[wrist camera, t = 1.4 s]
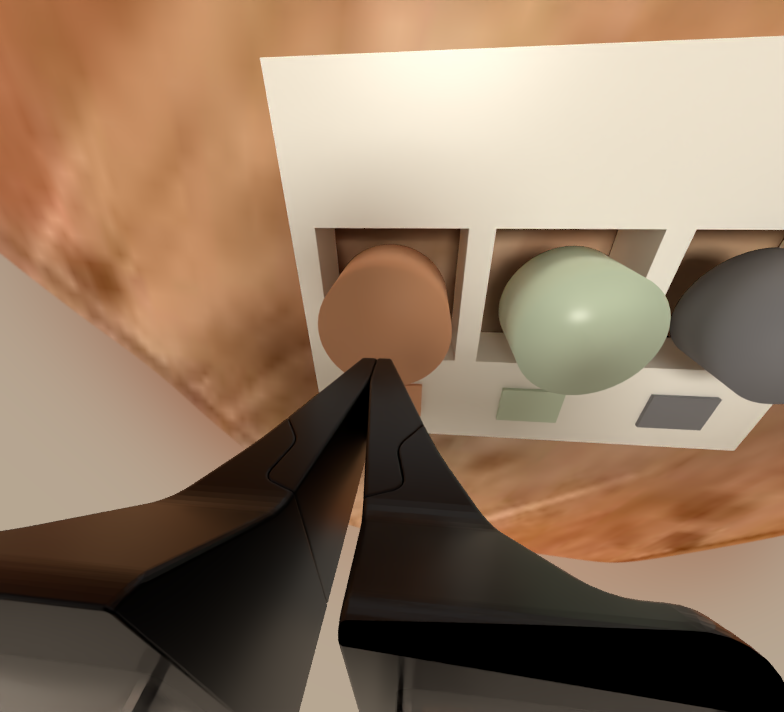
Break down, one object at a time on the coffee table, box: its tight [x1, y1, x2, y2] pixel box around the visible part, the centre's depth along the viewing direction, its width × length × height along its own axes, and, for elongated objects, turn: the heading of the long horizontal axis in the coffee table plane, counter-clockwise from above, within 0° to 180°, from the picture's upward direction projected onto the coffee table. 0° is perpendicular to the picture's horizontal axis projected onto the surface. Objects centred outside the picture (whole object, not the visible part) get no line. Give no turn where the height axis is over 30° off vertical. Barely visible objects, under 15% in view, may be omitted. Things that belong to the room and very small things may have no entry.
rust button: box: [318, 244, 452, 385], centre depth 13 cm, size 5×5×3 cm
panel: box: [260, 36, 784, 451], centre depth 14 cm, size 22×16×3 cm
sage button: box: [499, 246, 671, 395], centre depth 12 cm, size 5×5×3 cm
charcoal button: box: [670, 247, 784, 404], centre depth 11 cm, size 5×5×3 cm
